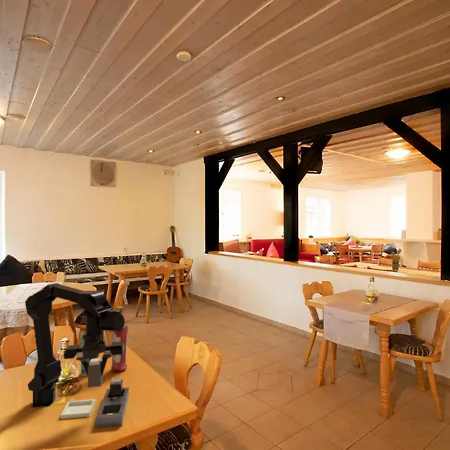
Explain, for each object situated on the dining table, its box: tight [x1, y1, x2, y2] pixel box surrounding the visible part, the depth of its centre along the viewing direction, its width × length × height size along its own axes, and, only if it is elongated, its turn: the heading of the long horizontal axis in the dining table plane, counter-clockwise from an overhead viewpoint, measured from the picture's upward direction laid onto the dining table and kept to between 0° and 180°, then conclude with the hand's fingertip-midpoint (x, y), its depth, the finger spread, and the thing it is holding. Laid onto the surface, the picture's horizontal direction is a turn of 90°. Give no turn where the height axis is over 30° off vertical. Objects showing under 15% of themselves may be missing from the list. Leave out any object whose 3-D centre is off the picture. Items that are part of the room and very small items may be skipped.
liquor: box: [110, 306, 128, 373], centre depth 154 cm, size 7×7×28 cm
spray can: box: [80, 329, 95, 377], centre depth 149 cm, size 6×6×20 cm
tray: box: [60, 398, 96, 420], centre depth 119 cm, size 9×9×2 cm
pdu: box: [95, 377, 130, 429], centre depth 119 cm, size 8×20×8 cm, turn 10°
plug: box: [87, 357, 104, 388], centre depth 116 cm, size 4×4×8 cm
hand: (95, 375), depth 116 cm, fingers closed on plug, 4 cm apart
